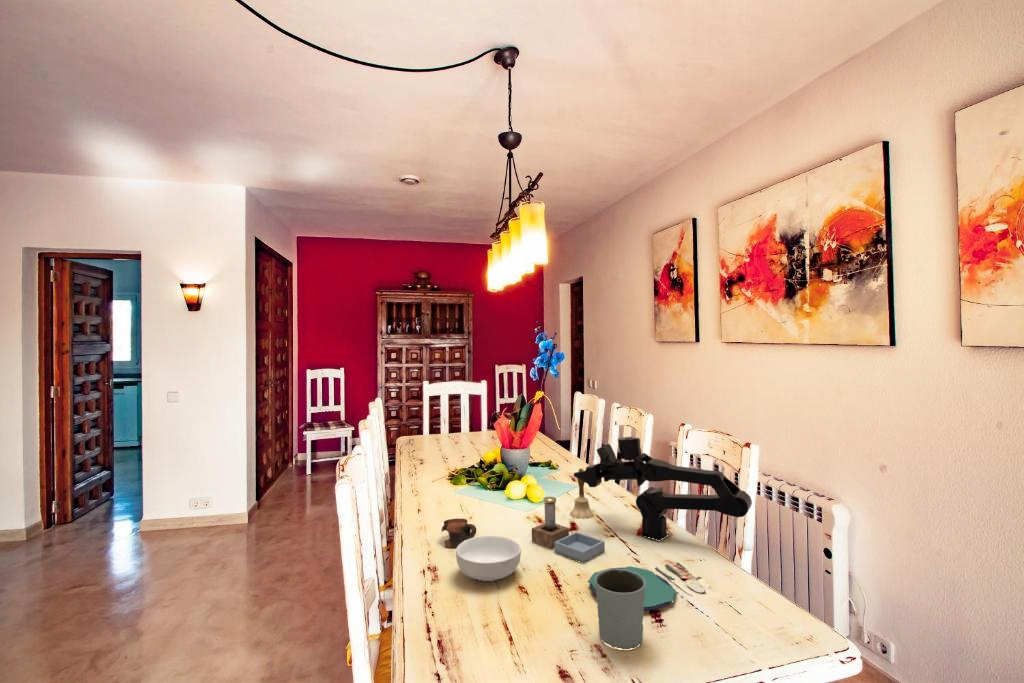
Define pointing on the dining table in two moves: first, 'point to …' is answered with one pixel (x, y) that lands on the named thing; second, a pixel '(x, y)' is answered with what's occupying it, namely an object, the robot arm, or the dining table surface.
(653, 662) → the dining table surface
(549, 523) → the pin
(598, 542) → the slate tray
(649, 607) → the cutlery set
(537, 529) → the walnut block
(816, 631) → the dining table surface
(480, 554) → the cereal bowl
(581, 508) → the hand bell
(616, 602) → the grey cylindrical pot
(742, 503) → the robot arm
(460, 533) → the brown clay jug
